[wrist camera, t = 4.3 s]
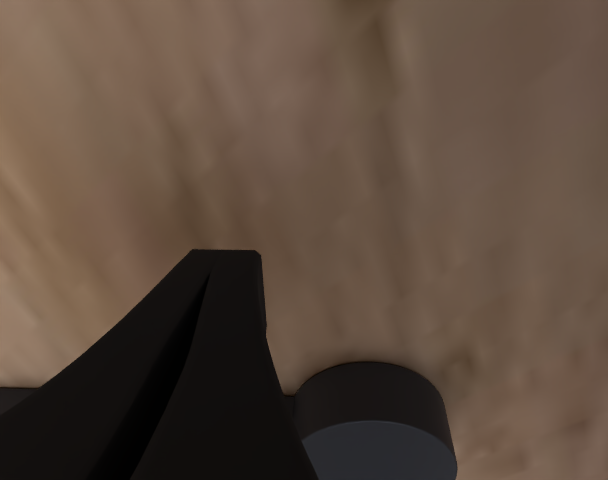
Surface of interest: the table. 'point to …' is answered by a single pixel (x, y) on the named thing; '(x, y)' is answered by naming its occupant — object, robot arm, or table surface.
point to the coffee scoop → (362, 424)
